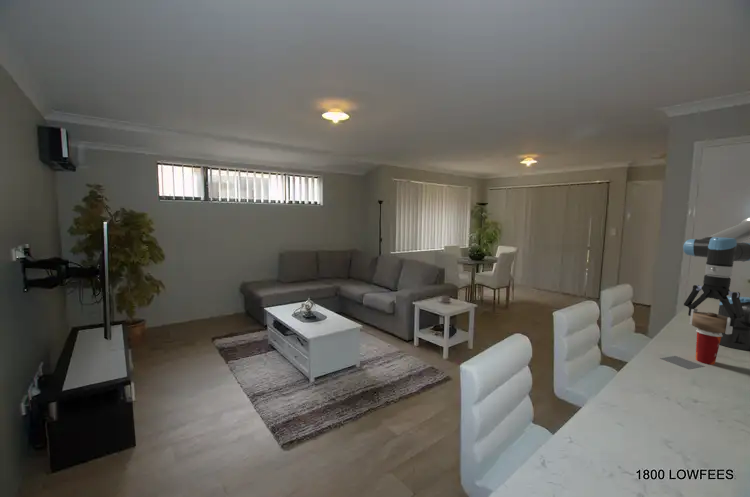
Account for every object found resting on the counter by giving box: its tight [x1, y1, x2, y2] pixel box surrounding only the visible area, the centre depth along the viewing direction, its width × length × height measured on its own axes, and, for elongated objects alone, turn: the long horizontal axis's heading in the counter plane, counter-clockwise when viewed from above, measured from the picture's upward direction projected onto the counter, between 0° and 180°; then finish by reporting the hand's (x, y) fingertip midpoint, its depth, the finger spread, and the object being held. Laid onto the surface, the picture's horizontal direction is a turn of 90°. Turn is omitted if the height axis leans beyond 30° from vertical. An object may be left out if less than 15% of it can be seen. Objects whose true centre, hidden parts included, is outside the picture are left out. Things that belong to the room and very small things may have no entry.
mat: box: [659, 355, 705, 370], centre depth 136 cm, size 10×10×1 cm
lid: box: [691, 311, 729, 333], centre depth 136 cm, size 11×11×6 cm
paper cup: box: [695, 328, 723, 365], centre depth 137 cm, size 8×8×14 cm
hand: (709, 328), depth 136 cm, fingers closed on lid, 11 cm apart
